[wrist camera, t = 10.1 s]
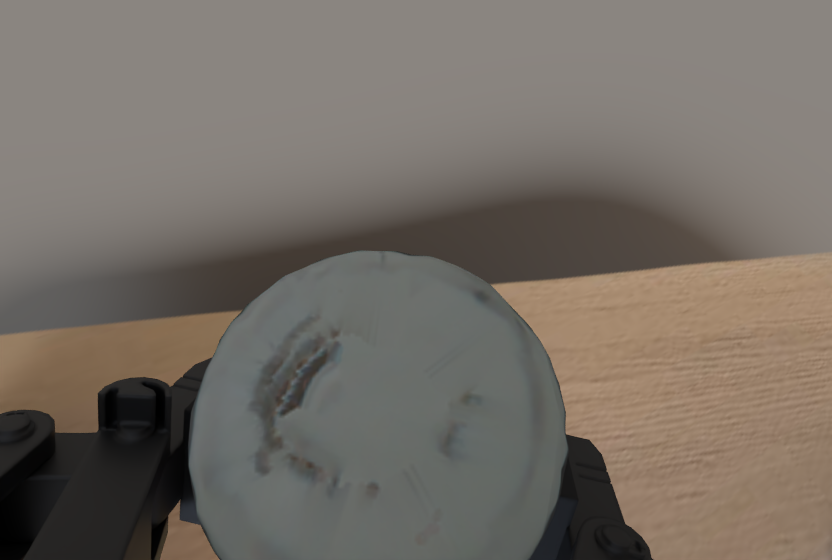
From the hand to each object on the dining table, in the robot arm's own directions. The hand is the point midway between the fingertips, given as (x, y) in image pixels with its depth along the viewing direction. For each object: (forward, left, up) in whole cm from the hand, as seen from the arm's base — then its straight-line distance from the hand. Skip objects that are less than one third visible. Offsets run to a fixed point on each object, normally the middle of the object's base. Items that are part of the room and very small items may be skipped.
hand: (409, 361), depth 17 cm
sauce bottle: (-1, +4, -10) cm, 10 cm away
